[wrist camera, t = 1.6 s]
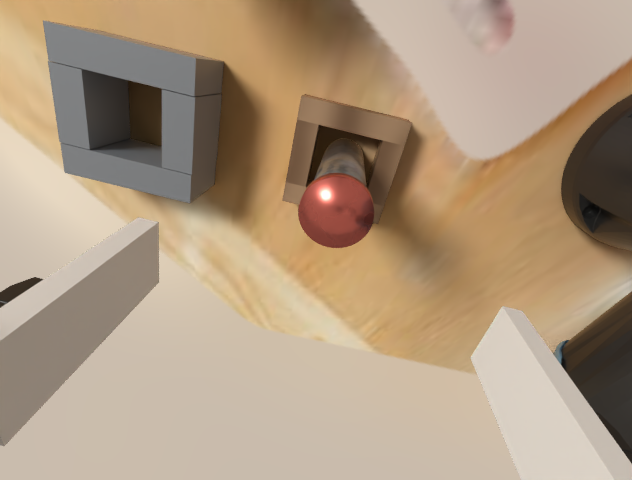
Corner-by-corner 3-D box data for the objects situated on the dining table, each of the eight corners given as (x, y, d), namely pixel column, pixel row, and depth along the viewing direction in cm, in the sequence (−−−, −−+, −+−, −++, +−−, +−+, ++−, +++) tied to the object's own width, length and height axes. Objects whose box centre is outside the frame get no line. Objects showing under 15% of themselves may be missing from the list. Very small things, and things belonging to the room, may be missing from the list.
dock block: (224, 61, 30) (196, 58, 25) (215, 184, 36) (190, 203, 31) (97, 30, 30) (42, 20, 25) (107, 158, 36) (64, 172, 30)
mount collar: (408, 119, 31) (412, 123, 29) (376, 214, 35) (377, 224, 33) (305, 94, 31) (301, 95, 29) (286, 192, 35) (282, 200, 33)
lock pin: (372, 141, 32) (384, 188, 19) (359, 185, 34) (362, 255, 21) (326, 130, 32) (306, 168, 19) (316, 174, 34) (292, 238, 21)
